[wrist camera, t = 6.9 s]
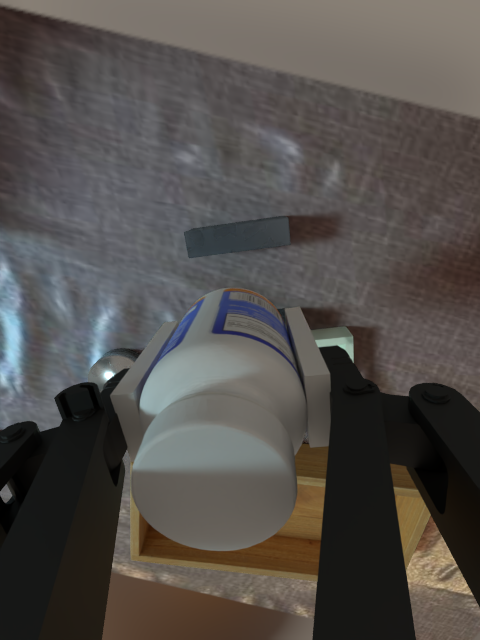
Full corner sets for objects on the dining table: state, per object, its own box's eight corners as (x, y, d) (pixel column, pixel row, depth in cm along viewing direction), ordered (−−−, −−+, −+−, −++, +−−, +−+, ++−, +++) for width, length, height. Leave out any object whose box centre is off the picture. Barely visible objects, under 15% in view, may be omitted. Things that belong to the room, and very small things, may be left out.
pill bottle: (206, 391, 18) (158, 590, 9) (165, 305, 16) (51, 441, 7) (299, 362, 17) (355, 550, 8) (266, 268, 15) (288, 368, 6)
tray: (416, 453, 36) (443, 497, 30) (379, 544, 41) (398, 595, 36) (148, 419, 36) (129, 456, 31) (146, 514, 41) (130, 560, 36)
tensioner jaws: (193, 228, 28) (183, 232, 24) (283, 215, 27) (288, 217, 24) (212, 335, 31) (206, 353, 28) (293, 327, 31) (298, 344, 27)
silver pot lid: (90, 351, 33) (74, 365, 30) (145, 345, 32) (135, 359, 29) (106, 400, 35) (92, 418, 32) (158, 395, 34) (150, 413, 31)
